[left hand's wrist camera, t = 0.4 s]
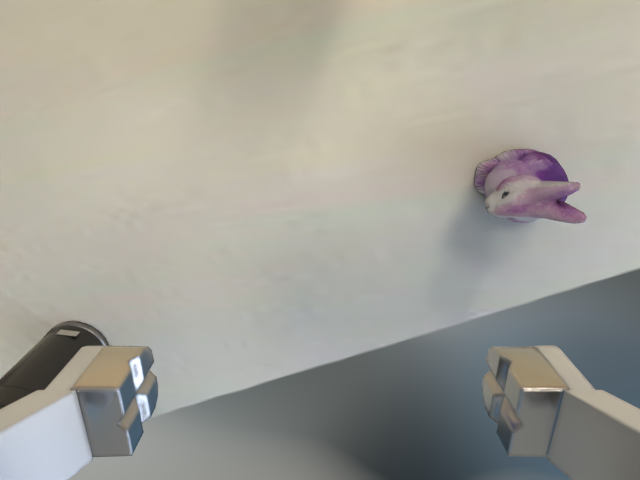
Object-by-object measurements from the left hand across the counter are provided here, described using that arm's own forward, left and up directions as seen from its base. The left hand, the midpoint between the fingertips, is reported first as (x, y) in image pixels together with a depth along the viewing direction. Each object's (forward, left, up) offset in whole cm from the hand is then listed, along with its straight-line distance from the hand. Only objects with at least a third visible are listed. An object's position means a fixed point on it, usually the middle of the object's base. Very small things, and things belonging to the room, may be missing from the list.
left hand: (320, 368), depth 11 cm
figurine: (+6, +24, -47) cm, 53 cm away
